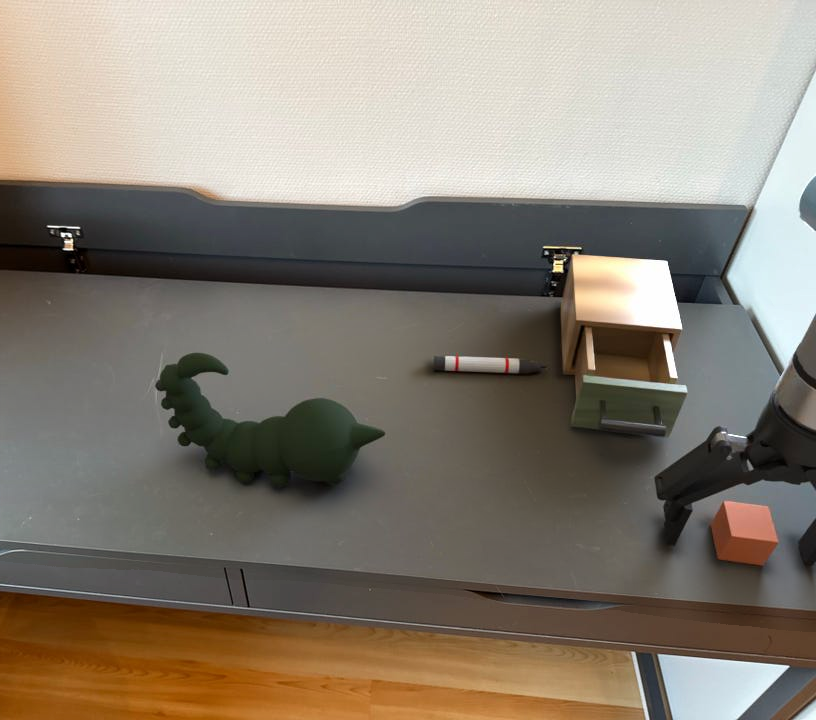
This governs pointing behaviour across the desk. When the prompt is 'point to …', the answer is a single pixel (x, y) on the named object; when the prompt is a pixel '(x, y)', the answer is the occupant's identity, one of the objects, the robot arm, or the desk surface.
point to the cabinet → (616, 299)
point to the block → (744, 533)
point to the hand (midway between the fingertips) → (735, 544)
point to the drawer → (626, 382)
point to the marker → (486, 364)
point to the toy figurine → (264, 431)
